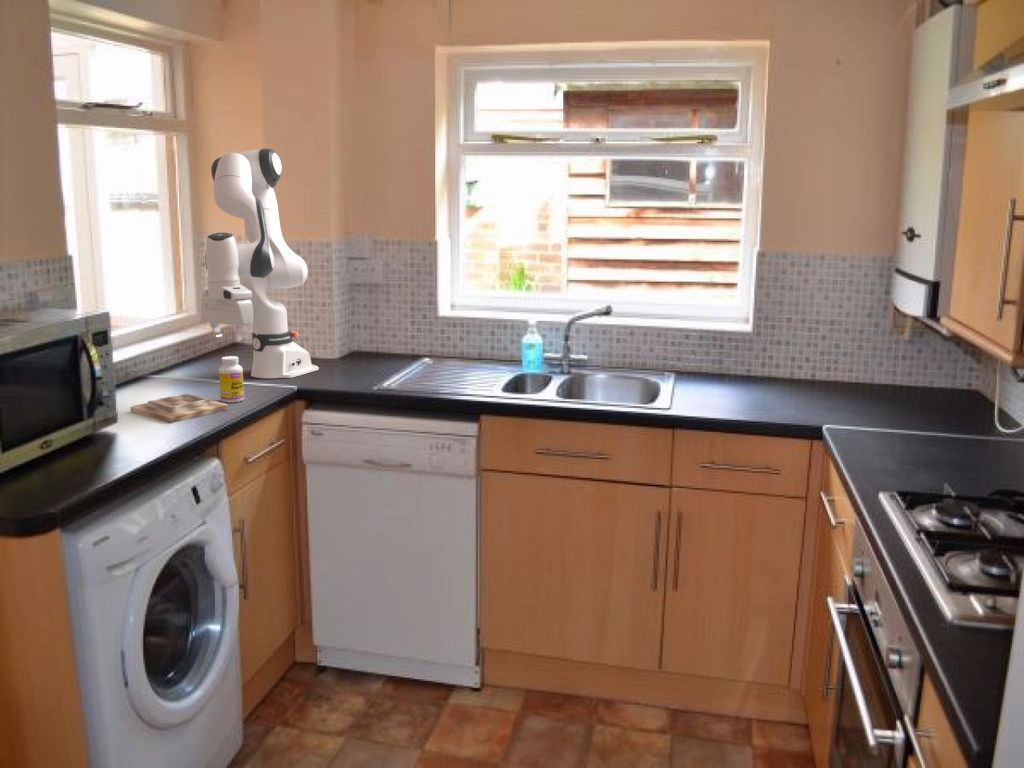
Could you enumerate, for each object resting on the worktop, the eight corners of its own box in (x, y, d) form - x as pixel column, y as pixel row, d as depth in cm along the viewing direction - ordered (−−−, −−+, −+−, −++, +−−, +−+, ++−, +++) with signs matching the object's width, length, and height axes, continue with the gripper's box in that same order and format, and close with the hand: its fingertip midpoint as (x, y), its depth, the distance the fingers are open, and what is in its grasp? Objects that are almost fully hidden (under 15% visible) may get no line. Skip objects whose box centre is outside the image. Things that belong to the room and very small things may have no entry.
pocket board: (187, 399, 271) (187, 389, 270) (229, 409, 259) (228, 399, 258) (130, 411, 257) (129, 401, 256) (171, 423, 245) (170, 412, 244)
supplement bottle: (231, 404, 264) (228, 360, 262) (216, 401, 268) (212, 358, 265) (249, 399, 270) (246, 356, 267) (234, 397, 273) (230, 354, 271)
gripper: (193, 290, 266) (197, 337, 268) (236, 294, 253) (240, 344, 256) (212, 288, 270) (216, 334, 273) (255, 292, 258) (259, 341, 261)
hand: (228, 339), depth 265 cm, fingers open, 8 cm apart
